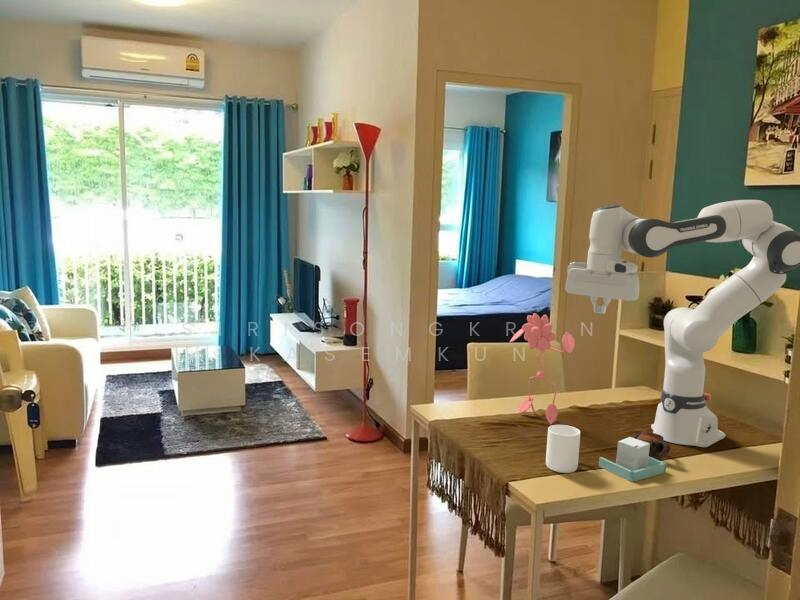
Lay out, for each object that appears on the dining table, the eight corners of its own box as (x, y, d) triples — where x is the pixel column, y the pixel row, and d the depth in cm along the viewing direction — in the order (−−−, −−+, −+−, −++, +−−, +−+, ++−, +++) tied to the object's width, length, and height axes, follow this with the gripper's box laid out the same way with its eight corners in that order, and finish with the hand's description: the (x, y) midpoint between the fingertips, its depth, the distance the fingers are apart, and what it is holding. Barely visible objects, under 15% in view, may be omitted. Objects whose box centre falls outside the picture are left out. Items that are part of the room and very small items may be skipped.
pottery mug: (621, 456, 181) (626, 428, 184) (642, 466, 186) (647, 438, 188) (658, 460, 171) (663, 430, 174) (679, 470, 176) (684, 441, 178)
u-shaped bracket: (631, 457, 179) (632, 449, 179) (665, 472, 170) (666, 463, 170) (598, 466, 173) (599, 457, 172) (632, 481, 163) (632, 472, 163)
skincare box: (627, 462, 176) (629, 436, 175) (648, 469, 172) (650, 443, 171) (615, 467, 172) (617, 441, 171) (636, 475, 168) (638, 448, 167)
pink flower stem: (516, 405, 222) (521, 305, 216) (579, 427, 202) (587, 318, 196) (485, 414, 212) (489, 309, 206) (548, 438, 193) (555, 323, 187)
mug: (562, 454, 180) (565, 419, 178) (589, 463, 174) (593, 427, 173) (539, 466, 171) (542, 429, 169) (567, 476, 165) (570, 438, 164)
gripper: (563, 261, 184) (560, 309, 186) (636, 268, 171) (631, 319, 173) (572, 260, 189) (569, 307, 191) (643, 266, 176) (639, 316, 178)
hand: (599, 313), depth 182 cm, fingers closed
